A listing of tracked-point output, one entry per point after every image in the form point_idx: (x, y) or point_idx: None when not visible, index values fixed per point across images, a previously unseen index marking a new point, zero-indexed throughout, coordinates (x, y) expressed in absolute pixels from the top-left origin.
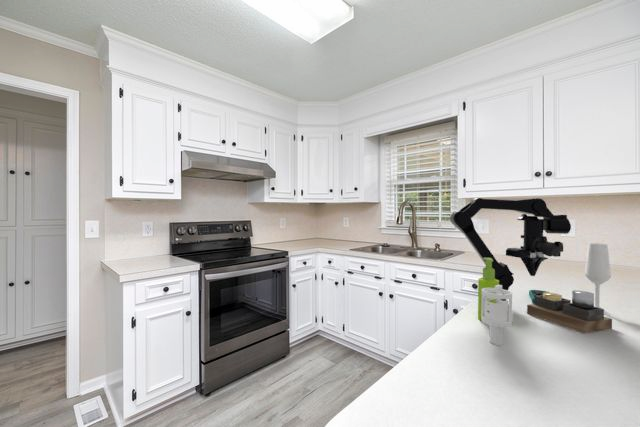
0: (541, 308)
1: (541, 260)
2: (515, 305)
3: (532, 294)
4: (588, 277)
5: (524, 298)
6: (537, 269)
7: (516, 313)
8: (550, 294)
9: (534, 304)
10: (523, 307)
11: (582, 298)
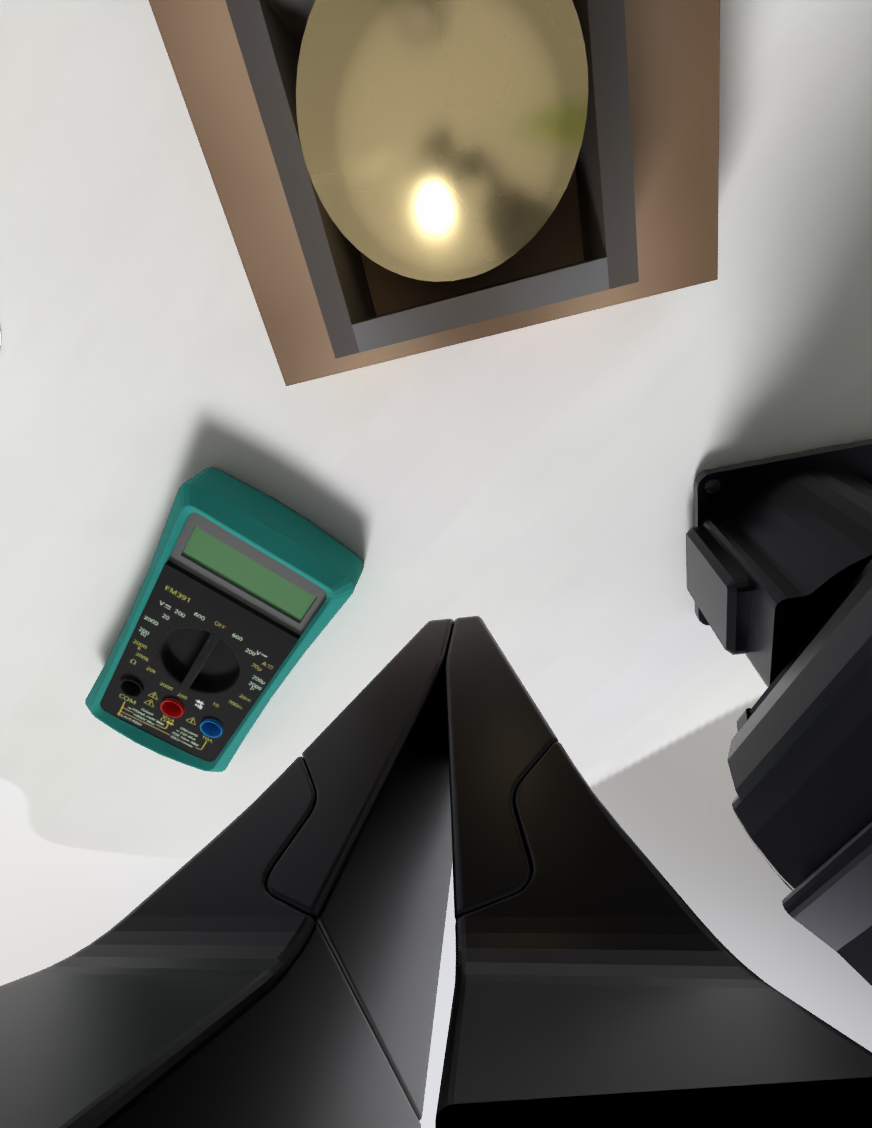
0: (674, 81)
1: (69, 1029)
2: (569, 530)
3: (279, 675)
4: None
5: (335, 680)
6: (347, 710)
7: (799, 290)
8: (471, 120)
9: (600, 292)
10: (541, 472)
11: None
